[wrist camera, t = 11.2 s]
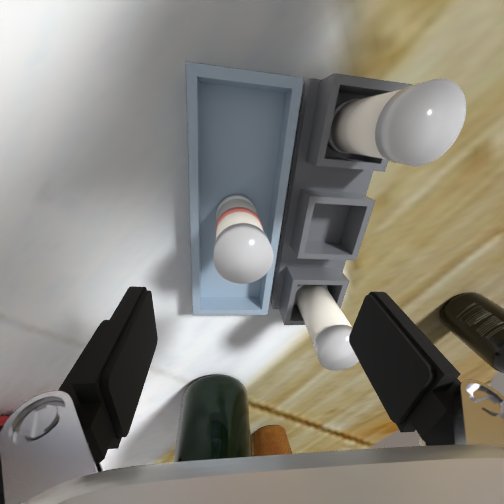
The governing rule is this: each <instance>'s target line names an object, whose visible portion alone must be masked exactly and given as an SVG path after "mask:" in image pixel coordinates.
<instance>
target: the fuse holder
mask: <svg viewBox="0 0 504 504" xmlns="http://www.w3.org/2000/svg"><path fill="white" fill-rule="evenodd" d="M410 85H412V84H405V83H398V82H391V81H384V80H377V79H370V78H362V77H355V76H348V75H341V74H333V75H331V76H329V77H327V78H325V79H323V80H319V79H309V80H308V81H306V82H305V88H304V94H303V101H302V107H301V113H300V120H299V126H298V133H297V139H296V145H295V152H294V158H293V164H292V171H291V177H290V183H289V190H288V196H287V203H286V209H285V215H284V222H283V228H282V234H281V241H280V247H279V254H278V260H277V266H276V273H275V279H274V285H273V292H272V298H271V303H272V307H273V309H279V310H280V313H281V316H282V319H283V322H284V325H305V322H304V320H303V318H302V315H301V313H300V311H299V308H298V306H297V304H296V303H295V301H294V300H295V295H296V290H297V285H326V286H327V288H328V291H329V293H330V294H331V296H332V297H333V299H334V300H335V302H336V303H337V305H338V306H339V308H341V305H342V302H343V299H344V295H345V292H346V289H347V286H348V283H349V280H348V279H347V278H346V276H345V275H344V274H343V273H342V272H343V269H344V265H345V262H346V260H356V259H357V256H358V252H359V249H360V246H361V243H362V240H363V237H364V234H365V231H366V228H367V225H368V222H369V219H370V216H371V213H372V209H373V206H374V203H375V200H373V199H371V198H369V197H367V196H366V193H367V190H368V186H369V183H370V180H371V177H372V173H373V171H384V172H385V170H386V166H387V163H388V160H386V159H382V158H376V157H370V156H365V155H359V154H353V153H351V154H346V153H341V152H336V151H334V150H332V149H330V148H329V147H328V145H327V144H328V139H329V134H330V130H331V125H332V120H333V115H334V111H335V106H336V105H338V104H339V103H341V102H344V101H348V100H352V99H363V98H367V97H371V96H376V95H380V94H384V93H388V92H393V91H397V90H401V89H403V88H405V87H408V86H410Z"/></svg>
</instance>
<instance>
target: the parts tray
mask: <svg viewBox="0 0 504 504" xmlns="http://www.w3.org/2000/svg"><path fill="white" fill-rule="evenodd" d="M303 82H304V78H303V77H295V76H288V75H281V74H273V73H266V72H259V71H251V70H244V69H237V68H229V67H222V66H215V65H207V64H200V63H193V62H186V90H187V125H188V161H189V197H190V233H191V269H192V304H193V315H268V309H269V303H270V296H271V290H272V283H273V277H274V270H275V264H276V257H277V251H278V244H279V238H280V231H281V225H282V218H283V212H284V205H285V199H286V192H287V186H288V179H289V173H290V166H291V160H292V153H293V147H294V140H295V134H296V127H297V121H298V114H299V108H300V101H301V95H302V88H303ZM231 194H242V195H244V196H246V197H248V198H249V199H250V200H251V201H252V202H253V204H254V206H255V208H256V211H257V216H258V218H259V220H260V222H261V224H262V227H263V231H264V233H265V234H266V236H267V237H268V240H269V242H270V245H271V247H272V250H273V263H272V266H271V268H270V269H269V271H268V272H267V273H266V274H265V275H264V276H263V277H262V278H260V279H259V280H257V281H254V282H251V283H246V284H238V283H233V282H230V281H228V280H226V279H224V278H223V277H222V276H221V275H220V274H219V273H218V272H217V270H216V268H215V265H214V245H215V241H216V224H217V221H216V211H217V207H218V204H219V203H220V201H221V200H222V199H223V198H224V197H226V196H228V195H231Z"/></svg>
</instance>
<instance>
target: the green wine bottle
mask: <svg viewBox="0 0 504 504" xmlns="http://www.w3.org/2000/svg"><path fill="white" fill-rule="evenodd" d="M240 457H252V450H251V436H250V421H249V409H248V398H247V391H246V388H245V387H244V385H243V384H242V383H241V382H240V381H239V380H237V379H235V378H233V377H230V376H225V375H211V376H206V377H203V378H200V379H198V380H196V381H194V382H193V383H192V384H190V385H189V387H188V388H187V389H186V390H185V393H184V396H183V401H182V407H181V413H180V420H179V427H178V435H177V442H176V449H175V457H174V462H185V461H197V460H211V459H225V458H240Z"/></svg>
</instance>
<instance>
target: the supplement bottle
mask: <svg viewBox="0 0 504 504" xmlns="http://www.w3.org/2000/svg"><path fill="white" fill-rule="evenodd" d="M440 319H441V322H442V323H443V325H444V326H445V327H447V328H448V329H449V330H450V331H451V332H452V333H453V334H454V335H456V336H457V337H458V338H459V339H460V340H461V341H462V342H464V343H465V344H466V345H467V346H468V347H469V348H470V349H472V350H473V351H474V352H475V353H476V354H477V355H478V356H480V357H481V358H482V359H483V360H484V361H485V362H487V363H488V364H489V365H490V366H491V367H492V368H494V369H495V370H497V371H499V372H502V373H504V309H503V308H502V307H500V306H498V305H497V304H495V303H494V302H492V301H490V300H489V299H487V298H486V297H484V296H482V295H481V294H478V293H472V292H470V293H464V294H461V295H458V296H456V297H454V298H453V299H451V300H450V301H449V302H448V303H447V304H446V305H445V306H444V308H443V309H442V311H441V315H440Z"/></svg>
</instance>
